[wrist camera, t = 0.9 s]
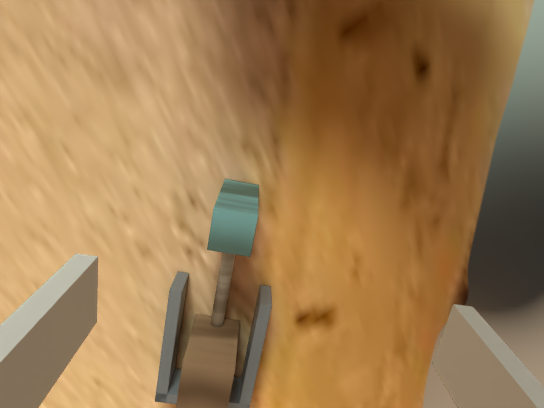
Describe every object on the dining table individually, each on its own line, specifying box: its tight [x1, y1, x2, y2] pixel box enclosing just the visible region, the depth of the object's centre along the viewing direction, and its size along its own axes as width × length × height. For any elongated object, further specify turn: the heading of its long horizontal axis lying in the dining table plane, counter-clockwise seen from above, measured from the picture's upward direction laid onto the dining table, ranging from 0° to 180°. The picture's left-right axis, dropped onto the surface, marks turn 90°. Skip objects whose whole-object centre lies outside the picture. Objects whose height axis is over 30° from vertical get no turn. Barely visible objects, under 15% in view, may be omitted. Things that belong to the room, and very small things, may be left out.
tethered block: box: [176, 179, 259, 408], centre depth 38 cm, size 22×5×10 cm, turn 169°
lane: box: [155, 272, 272, 408], centre depth 43 cm, size 14×10×4 cm
